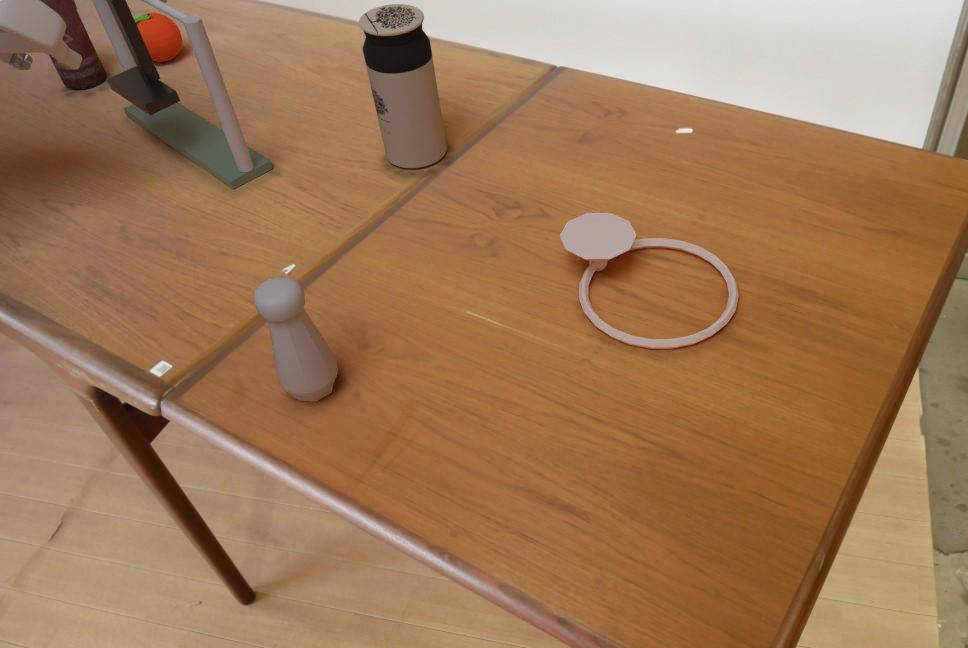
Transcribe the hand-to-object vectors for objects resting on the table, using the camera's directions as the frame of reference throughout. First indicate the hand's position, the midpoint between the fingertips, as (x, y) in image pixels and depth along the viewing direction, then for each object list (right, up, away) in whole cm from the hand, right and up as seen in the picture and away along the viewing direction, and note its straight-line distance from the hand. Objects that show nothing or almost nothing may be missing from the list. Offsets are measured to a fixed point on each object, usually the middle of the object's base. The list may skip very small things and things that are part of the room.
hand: (51, 64), depth 97 cm
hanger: (+7, +1, +10) cm, 13 cm away
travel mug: (+40, -7, +14) cm, 43 cm away
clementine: (-3, +13, +34) cm, 37 cm away
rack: (+9, -4, +18) cm, 20 cm away
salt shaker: (+34, -37, -14) cm, 52 cm away
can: (-13, +9, +31) cm, 35 cm away
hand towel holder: (+68, -27, -6) cm, 73 cm away
